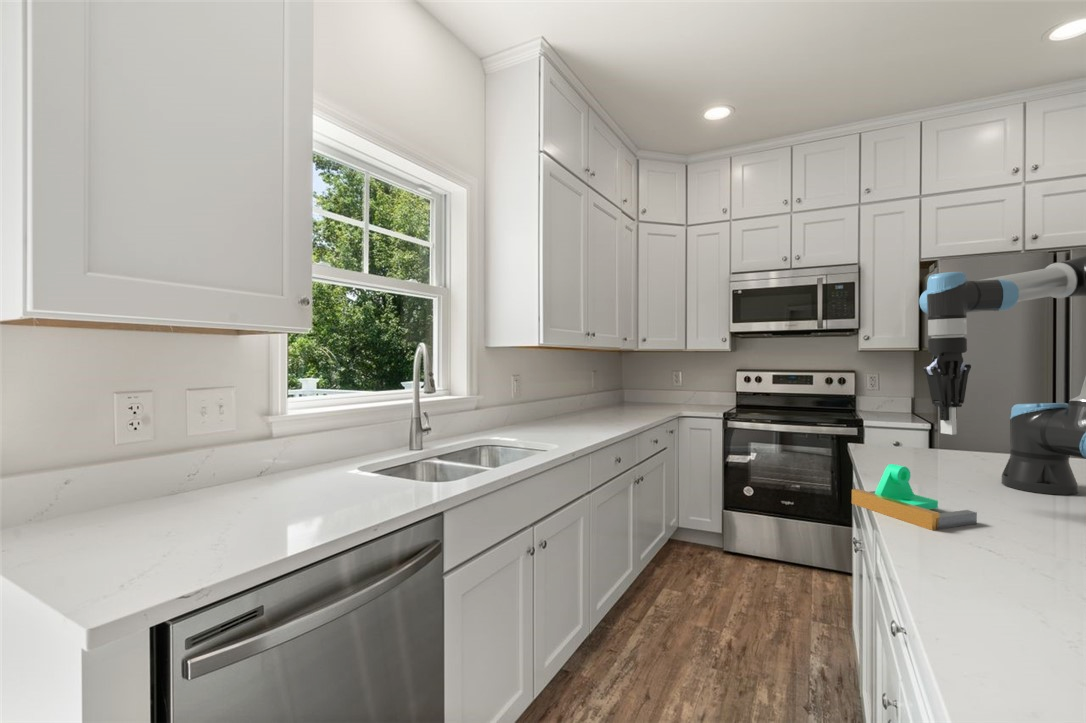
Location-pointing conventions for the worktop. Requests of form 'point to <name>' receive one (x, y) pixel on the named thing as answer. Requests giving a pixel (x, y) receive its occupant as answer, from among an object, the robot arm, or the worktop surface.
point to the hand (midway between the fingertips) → (948, 433)
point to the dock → (912, 511)
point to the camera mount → (901, 487)
